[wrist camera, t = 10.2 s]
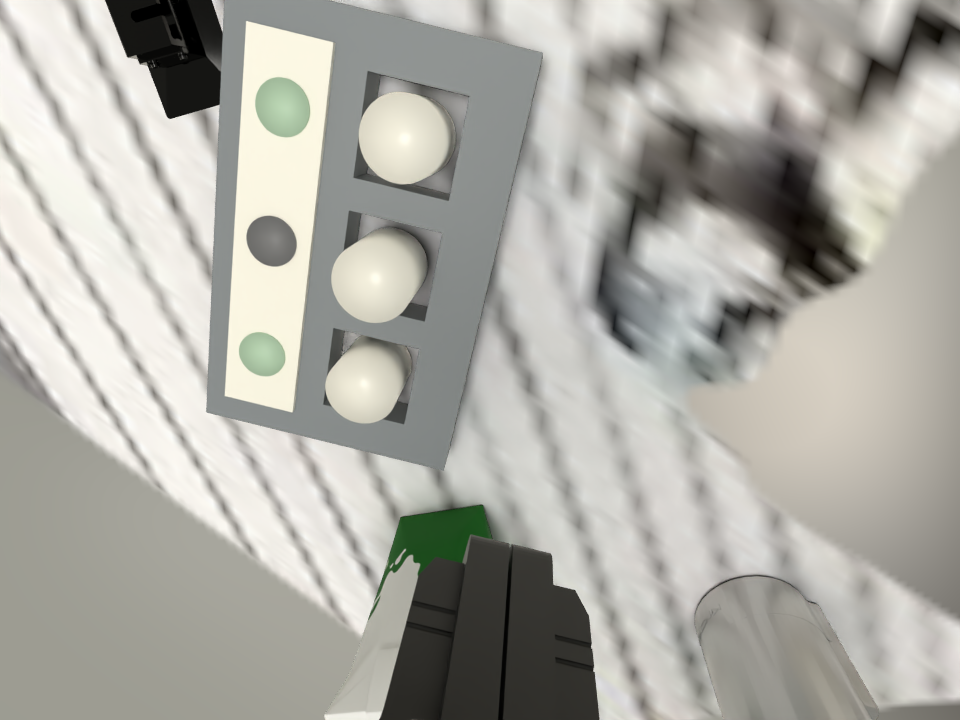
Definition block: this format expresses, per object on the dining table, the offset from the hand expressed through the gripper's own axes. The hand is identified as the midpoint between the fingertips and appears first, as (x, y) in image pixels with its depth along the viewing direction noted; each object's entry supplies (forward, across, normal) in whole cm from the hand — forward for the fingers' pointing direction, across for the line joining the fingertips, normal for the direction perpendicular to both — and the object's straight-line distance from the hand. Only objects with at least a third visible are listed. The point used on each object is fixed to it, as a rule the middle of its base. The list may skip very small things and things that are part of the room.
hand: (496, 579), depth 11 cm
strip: (+28, +16, +3) cm, 32 cm away
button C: (+31, +8, -5) cm, 32 cm away
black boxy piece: (+32, +24, -8) cm, 41 cm away
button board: (+31, +11, +3) cm, 33 cm away
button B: (+29, +8, +3) cm, 30 cm away
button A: (+31, +8, +11) cm, 34 cm away
